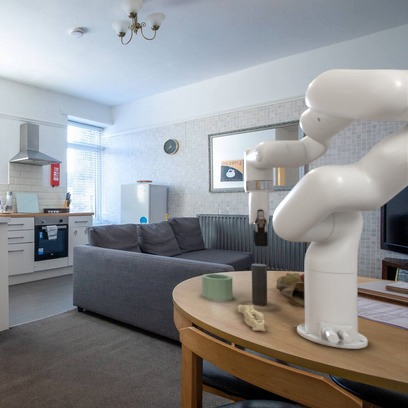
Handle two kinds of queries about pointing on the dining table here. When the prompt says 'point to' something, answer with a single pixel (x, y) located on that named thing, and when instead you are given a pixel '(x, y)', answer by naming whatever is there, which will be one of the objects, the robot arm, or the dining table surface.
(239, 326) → the dining table surface
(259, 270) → the peg
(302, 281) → the figurine
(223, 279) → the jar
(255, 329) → the beige lumpy bar
